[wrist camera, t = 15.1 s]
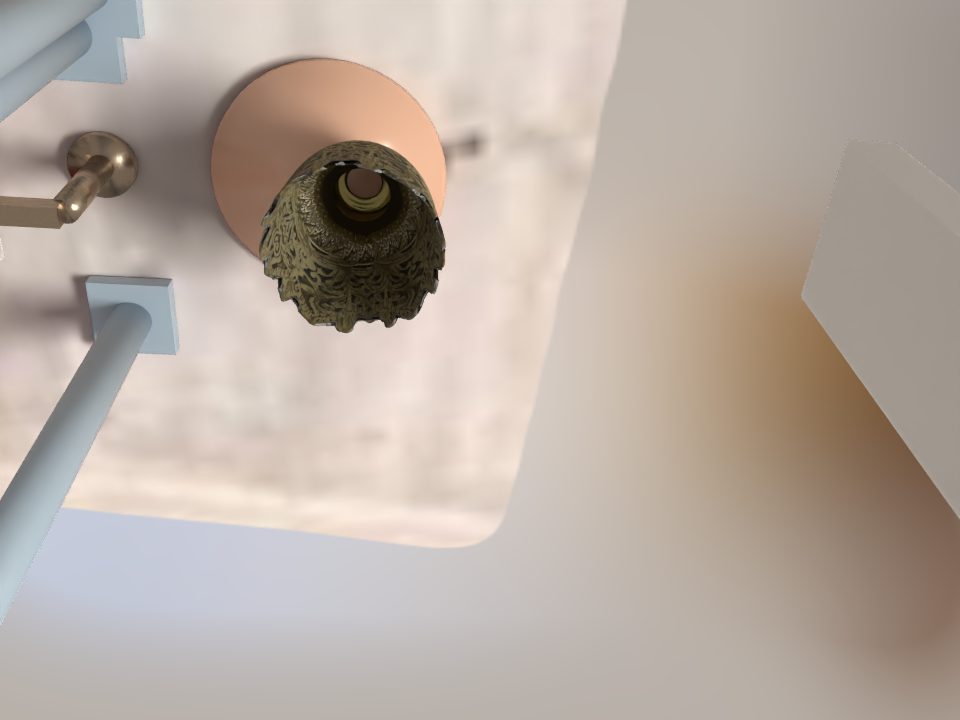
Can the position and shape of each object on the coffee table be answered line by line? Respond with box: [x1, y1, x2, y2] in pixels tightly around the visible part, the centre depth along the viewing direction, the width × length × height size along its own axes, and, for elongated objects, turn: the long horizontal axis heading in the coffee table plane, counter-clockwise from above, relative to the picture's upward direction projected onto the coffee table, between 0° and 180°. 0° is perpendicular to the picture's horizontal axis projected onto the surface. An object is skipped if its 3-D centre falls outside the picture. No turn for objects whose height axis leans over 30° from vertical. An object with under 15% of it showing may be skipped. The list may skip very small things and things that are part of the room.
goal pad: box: [211, 59, 446, 261], centre depth 44 cm, size 11×11×1 cm
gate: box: [0, 0, 179, 626], centre depth 33 cm, size 4×20×24 cm, turn 175°
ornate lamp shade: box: [259, 140, 446, 333], centre depth 40 cm, size 8×7×8 cm
